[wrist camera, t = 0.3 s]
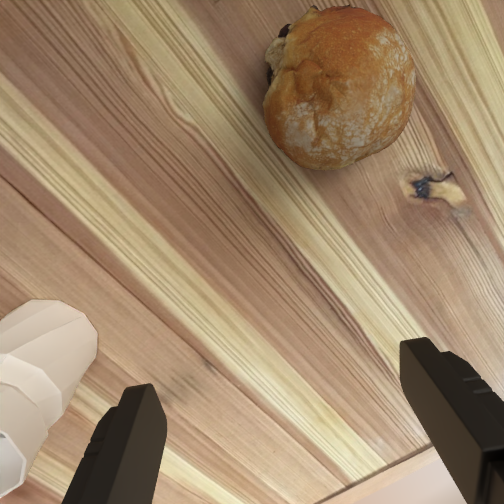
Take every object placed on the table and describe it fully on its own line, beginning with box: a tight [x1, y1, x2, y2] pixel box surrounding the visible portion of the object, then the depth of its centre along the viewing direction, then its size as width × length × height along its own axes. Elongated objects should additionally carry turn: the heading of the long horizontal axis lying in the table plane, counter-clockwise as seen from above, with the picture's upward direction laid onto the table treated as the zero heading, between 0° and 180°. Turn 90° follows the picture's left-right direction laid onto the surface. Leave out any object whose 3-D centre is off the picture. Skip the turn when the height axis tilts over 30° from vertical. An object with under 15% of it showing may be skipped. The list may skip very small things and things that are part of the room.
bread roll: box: [262, 5, 416, 171], centre depth 22 cm, size 10×10×8 cm
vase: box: [0, 299, 98, 498], centre depth 26 cm, size 9×9×12 cm
